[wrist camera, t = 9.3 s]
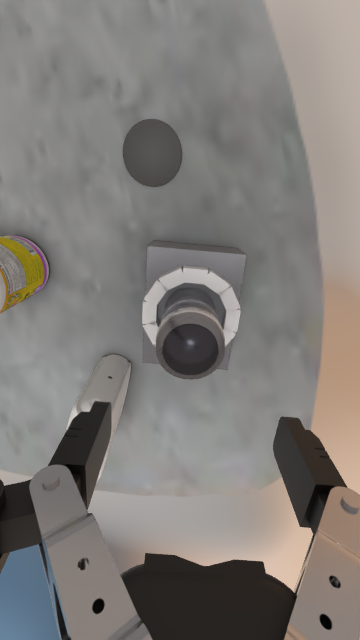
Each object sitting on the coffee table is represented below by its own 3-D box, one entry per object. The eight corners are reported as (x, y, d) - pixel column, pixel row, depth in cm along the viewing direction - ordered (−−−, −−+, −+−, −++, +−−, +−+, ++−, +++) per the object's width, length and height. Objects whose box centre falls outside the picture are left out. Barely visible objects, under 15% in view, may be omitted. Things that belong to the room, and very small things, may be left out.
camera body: (148, 341, 35) (140, 368, 29) (153, 240, 30) (145, 247, 25) (222, 348, 35) (229, 376, 29) (238, 248, 31) (249, 257, 25)
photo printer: (101, 349, 35) (60, 416, 24) (135, 357, 36) (110, 428, 24) (89, 414, 39) (48, 500, 27) (120, 421, 39) (92, 509, 28)
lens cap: (124, 184, 29) (122, 183, 28) (125, 118, 27) (123, 116, 26) (179, 189, 29) (179, 188, 28) (184, 124, 27) (184, 122, 26)
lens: (161, 334, 29) (152, 379, 21) (164, 284, 27) (155, 313, 19) (212, 338, 29) (221, 385, 21) (219, 288, 27) (232, 320, 19)
